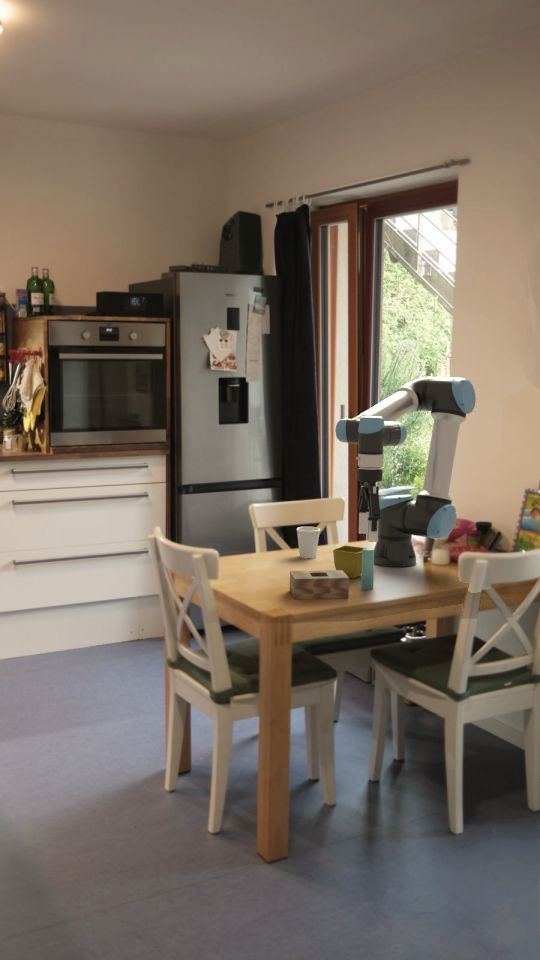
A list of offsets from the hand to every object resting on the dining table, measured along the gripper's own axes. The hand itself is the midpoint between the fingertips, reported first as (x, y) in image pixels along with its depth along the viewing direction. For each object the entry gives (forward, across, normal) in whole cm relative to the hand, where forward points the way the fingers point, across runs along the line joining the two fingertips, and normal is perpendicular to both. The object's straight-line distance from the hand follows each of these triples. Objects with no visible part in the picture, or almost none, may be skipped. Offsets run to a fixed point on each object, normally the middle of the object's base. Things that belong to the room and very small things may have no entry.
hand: (367, 537), depth 296 cm
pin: (+16, 0, 0) cm, 16 cm away
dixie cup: (+16, -46, -11) cm, 50 cm away
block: (+16, +6, -16) cm, 23 cm away
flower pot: (+16, -16, -2) cm, 23 cm away
